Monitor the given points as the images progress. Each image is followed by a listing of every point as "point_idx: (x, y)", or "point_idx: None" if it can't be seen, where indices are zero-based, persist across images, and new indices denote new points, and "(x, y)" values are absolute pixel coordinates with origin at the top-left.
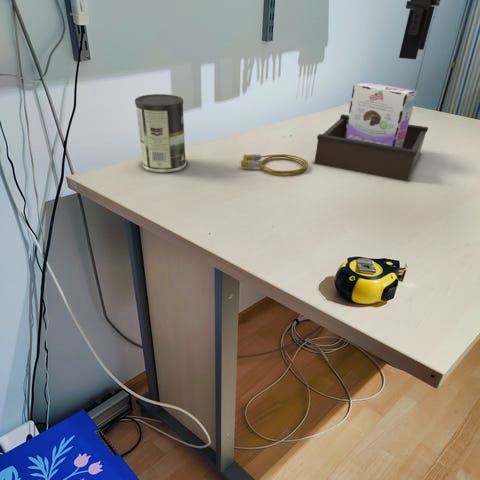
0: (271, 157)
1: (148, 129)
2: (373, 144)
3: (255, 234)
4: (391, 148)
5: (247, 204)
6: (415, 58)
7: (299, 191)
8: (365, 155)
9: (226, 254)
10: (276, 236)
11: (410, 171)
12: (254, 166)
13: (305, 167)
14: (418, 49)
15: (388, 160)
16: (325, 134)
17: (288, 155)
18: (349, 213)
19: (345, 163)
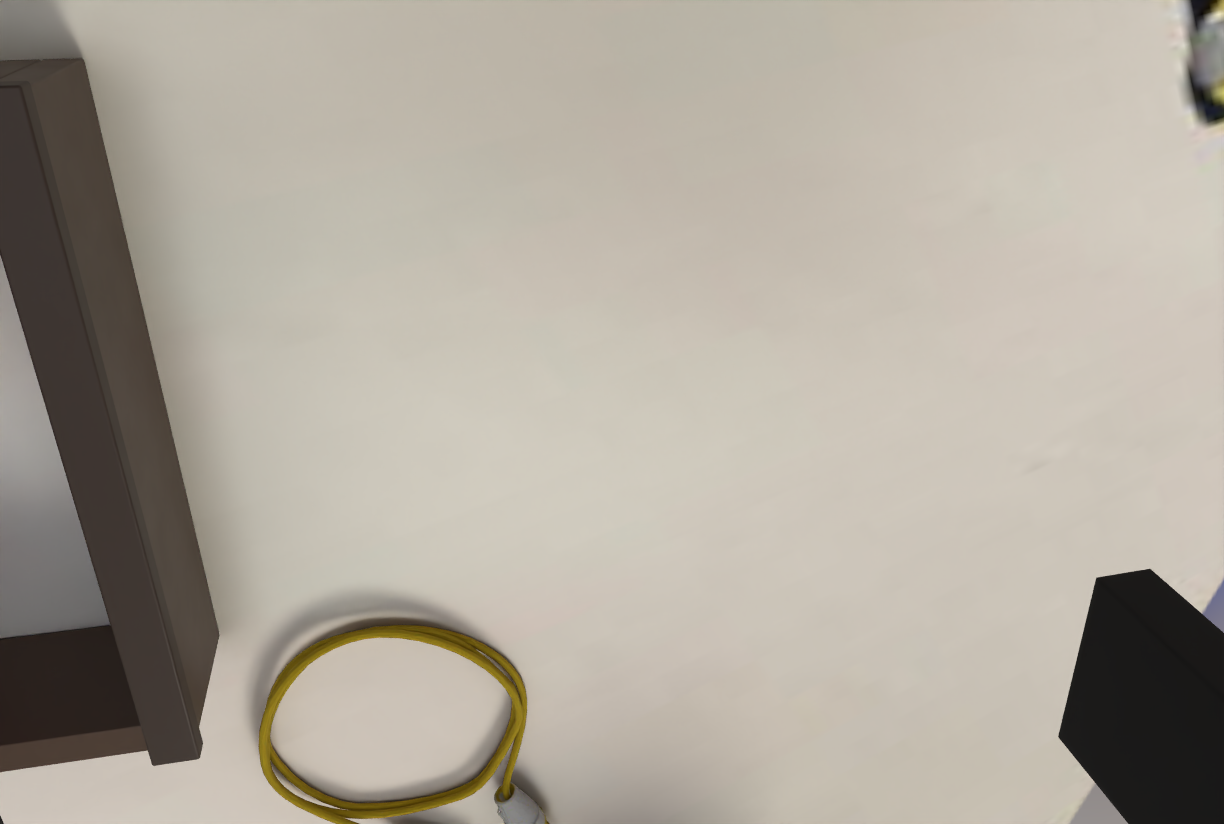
0: (332, 809)
1: None
2: (98, 430)
3: (1111, 486)
4: (78, 293)
5: (884, 625)
6: (1153, 579)
7: (654, 531)
8: (134, 424)
9: None
10: (1106, 422)
11: (19, 68)
12: (526, 795)
13: (392, 632)
14: (1173, 646)
15: (94, 262)
16: (75, 745)
17: (270, 767)
18: (792, 249)
19: (175, 494)
